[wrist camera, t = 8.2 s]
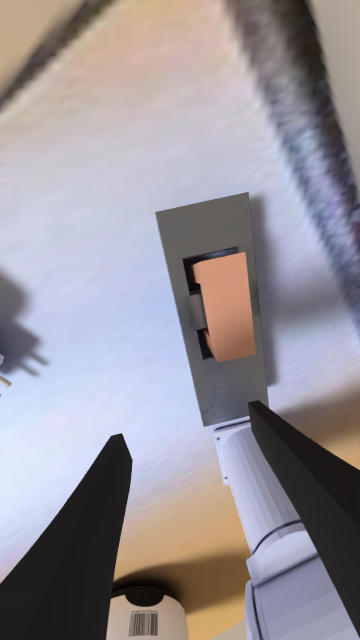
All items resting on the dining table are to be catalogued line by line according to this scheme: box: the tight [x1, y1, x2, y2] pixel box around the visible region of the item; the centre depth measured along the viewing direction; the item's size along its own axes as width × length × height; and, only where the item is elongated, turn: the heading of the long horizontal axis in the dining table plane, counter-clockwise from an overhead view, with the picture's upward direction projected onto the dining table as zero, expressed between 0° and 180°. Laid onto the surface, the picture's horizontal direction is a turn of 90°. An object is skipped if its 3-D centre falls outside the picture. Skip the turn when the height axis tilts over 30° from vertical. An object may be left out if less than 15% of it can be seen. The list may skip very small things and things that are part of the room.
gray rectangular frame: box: [155, 192, 269, 427], centre depth 16 cm, size 20×7×3 cm, turn 12°
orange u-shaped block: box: [190, 252, 256, 363], centre depth 15 cm, size 8×3×6 cm, turn 12°
